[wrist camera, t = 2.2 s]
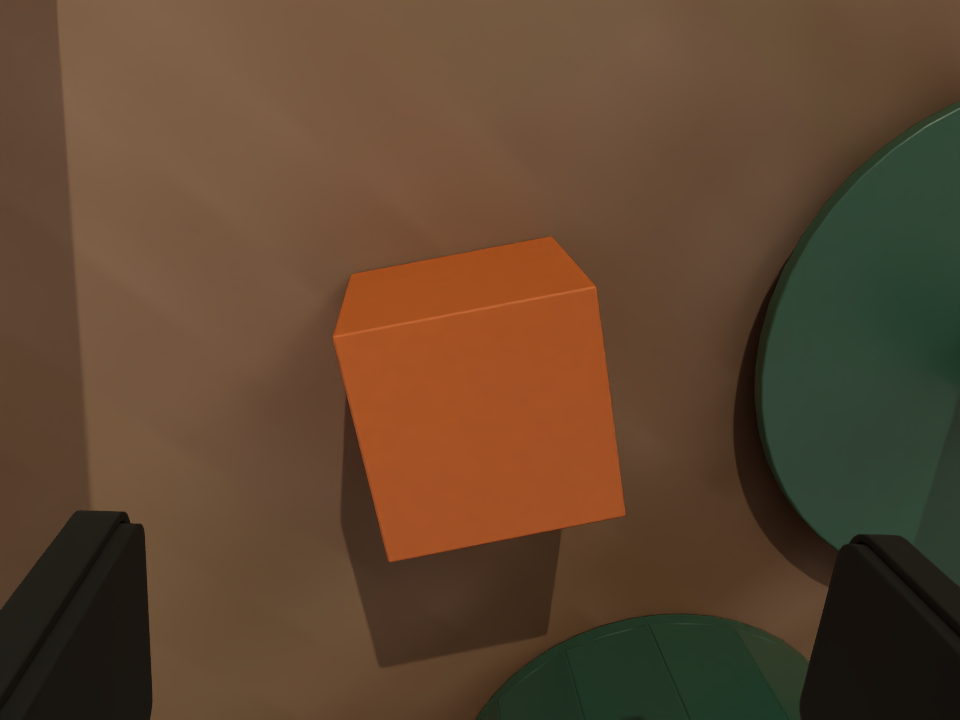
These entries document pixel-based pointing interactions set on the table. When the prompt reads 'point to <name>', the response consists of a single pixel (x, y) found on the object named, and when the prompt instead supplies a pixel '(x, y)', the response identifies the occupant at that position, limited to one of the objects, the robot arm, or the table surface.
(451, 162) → the table surface
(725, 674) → the green cooking pot
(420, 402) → the block
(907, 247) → the lid
